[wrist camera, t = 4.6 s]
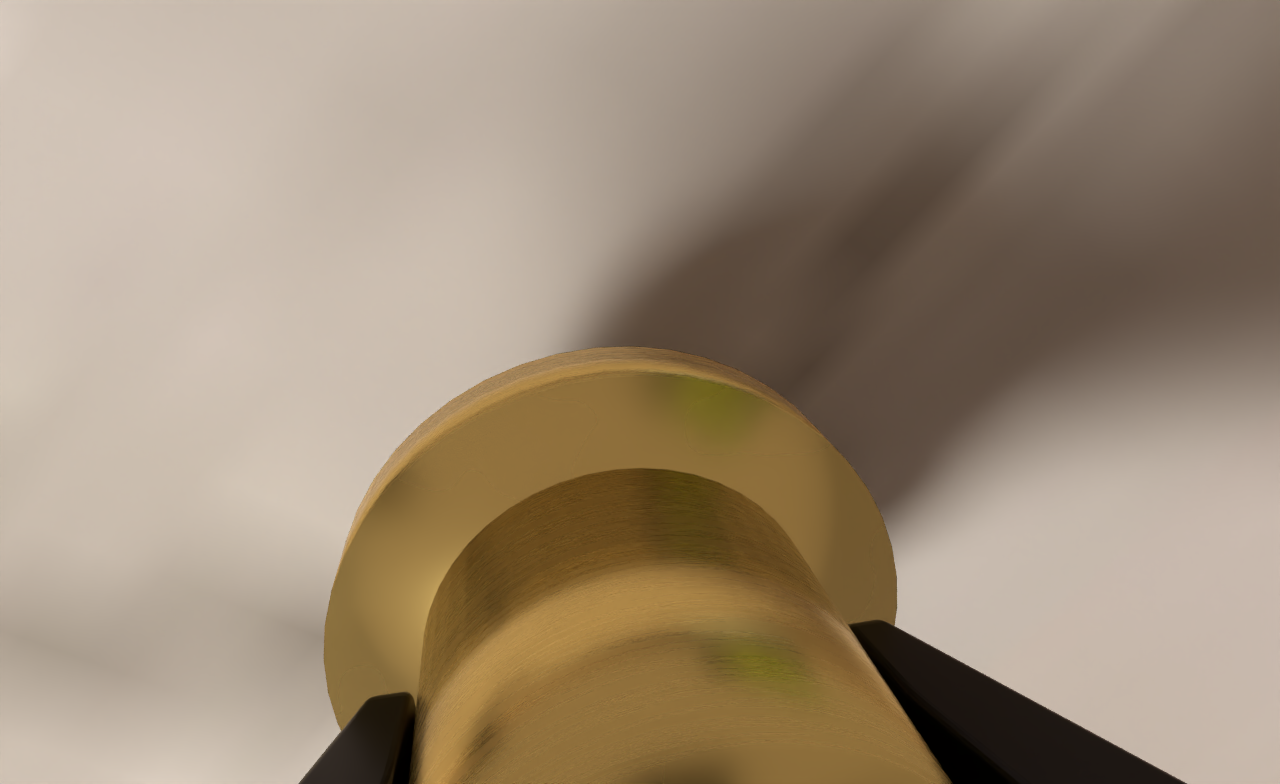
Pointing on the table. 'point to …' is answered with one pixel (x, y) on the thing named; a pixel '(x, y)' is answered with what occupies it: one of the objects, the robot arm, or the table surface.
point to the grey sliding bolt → (623, 586)
